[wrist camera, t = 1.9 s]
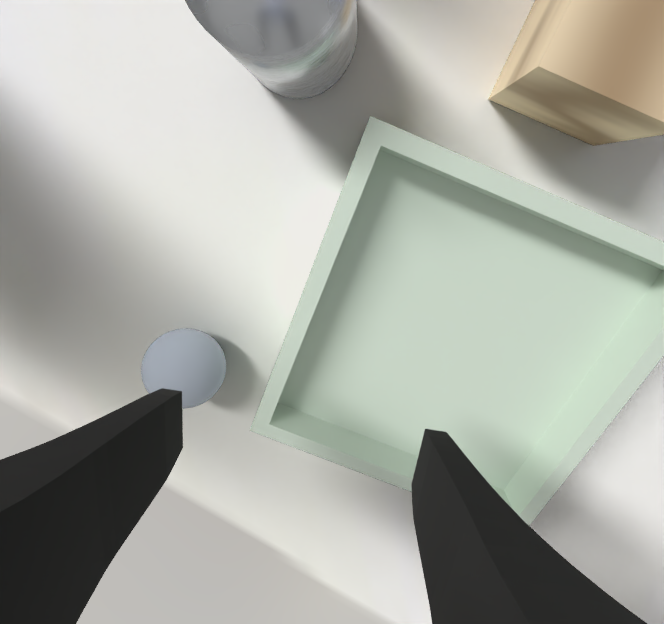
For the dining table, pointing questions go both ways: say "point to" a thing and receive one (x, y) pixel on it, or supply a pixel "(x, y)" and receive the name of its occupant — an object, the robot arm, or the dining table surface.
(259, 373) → the dining table surface
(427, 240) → the sage tray
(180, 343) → the rubber ball
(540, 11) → the maple block
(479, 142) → the dining table surface
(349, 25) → the grey can
